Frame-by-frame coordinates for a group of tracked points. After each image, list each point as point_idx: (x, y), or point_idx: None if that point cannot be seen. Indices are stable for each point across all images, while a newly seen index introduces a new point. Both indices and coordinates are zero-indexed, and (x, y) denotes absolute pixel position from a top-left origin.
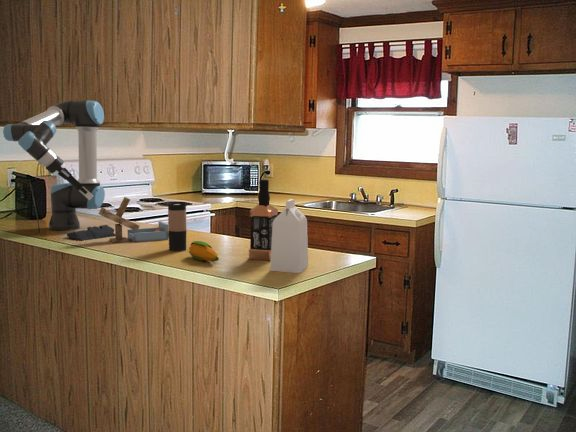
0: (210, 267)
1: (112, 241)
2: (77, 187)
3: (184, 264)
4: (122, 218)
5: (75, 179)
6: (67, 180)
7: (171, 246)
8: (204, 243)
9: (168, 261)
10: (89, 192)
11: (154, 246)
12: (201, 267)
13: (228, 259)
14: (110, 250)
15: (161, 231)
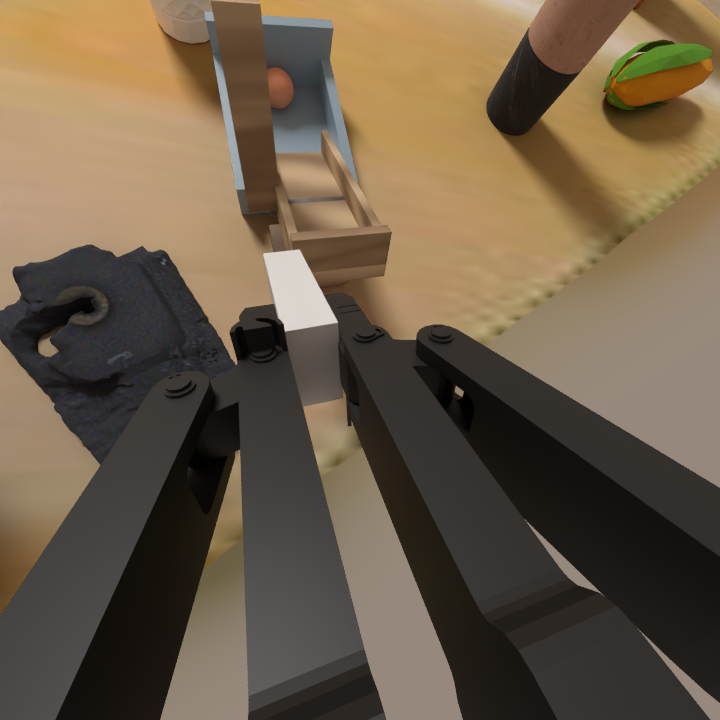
0: (702, 110)
1: (338, 283)
2: (466, 406)
3: (675, 150)
4: (352, 175)
5: (612, 435)
6: (160, 703)
7: (536, 121)
8: (700, 50)
9: (645, 175)
10: (312, 274)
11: (445, 160)
12: (702, 126)
13: (632, 47)
14: (488, 305)
15: (332, 76)
